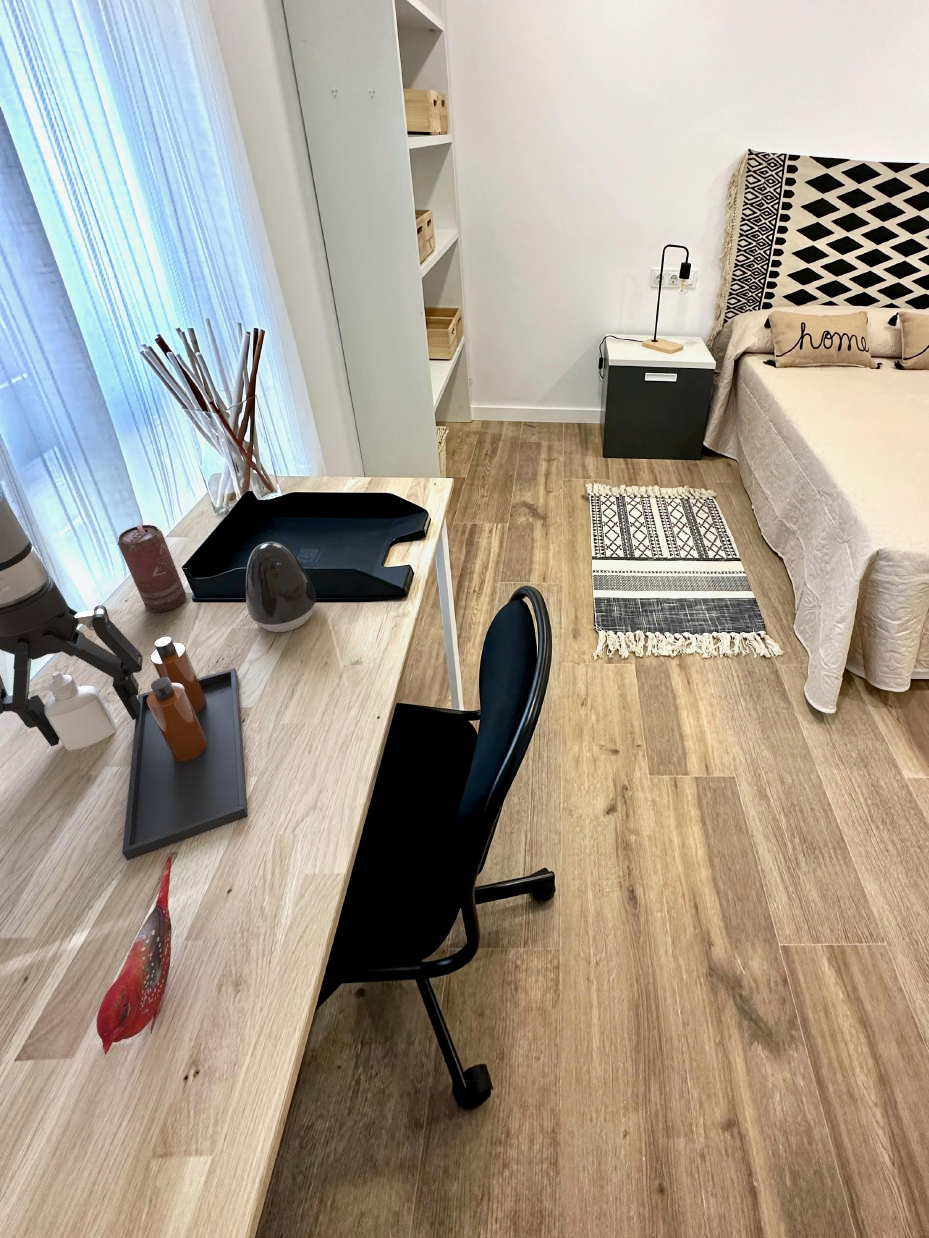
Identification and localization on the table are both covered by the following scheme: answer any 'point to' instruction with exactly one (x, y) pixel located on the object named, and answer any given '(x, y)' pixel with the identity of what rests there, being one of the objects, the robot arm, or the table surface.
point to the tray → (186, 774)
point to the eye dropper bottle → (78, 713)
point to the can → (152, 568)
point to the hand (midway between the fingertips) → (97, 724)
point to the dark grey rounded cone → (278, 588)
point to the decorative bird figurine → (140, 976)
